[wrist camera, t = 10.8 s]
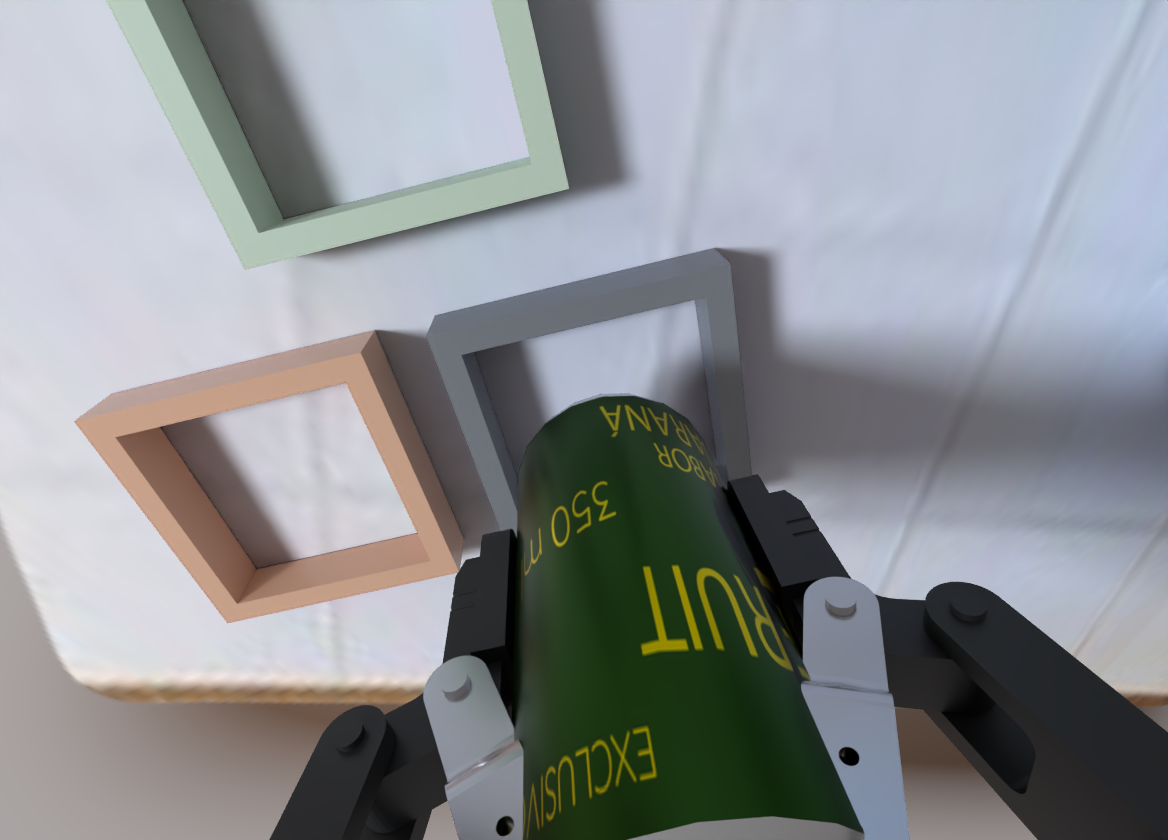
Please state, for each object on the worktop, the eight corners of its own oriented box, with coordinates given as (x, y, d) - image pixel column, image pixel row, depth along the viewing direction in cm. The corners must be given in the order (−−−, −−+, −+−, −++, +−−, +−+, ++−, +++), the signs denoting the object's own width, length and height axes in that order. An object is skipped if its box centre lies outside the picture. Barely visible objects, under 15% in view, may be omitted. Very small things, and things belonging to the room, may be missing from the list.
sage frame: (468, -258, 13) (459, -305, 11) (566, 179, 17) (569, 188, 16) (77, -145, 13) (16, -174, 12) (270, 252, 18) (244, 269, 16)
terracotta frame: (374, 330, 19) (360, 352, 18) (464, 539, 24) (459, 572, 22) (111, 393, 20) (73, 421, 18) (247, 588, 24) (227, 623, 22)
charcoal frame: (714, 248, 19) (730, 263, 17) (740, 478, 23) (754, 507, 22) (434, 315, 19) (426, 336, 18) (513, 528, 24) (511, 560, 22)
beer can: (644, 557, 19) (776, 1114, 9) (488, 502, 18) (430, 1098, 7) (738, 426, 17) (1058, 962, 7) (571, 351, 16) (650, 893, 5)
